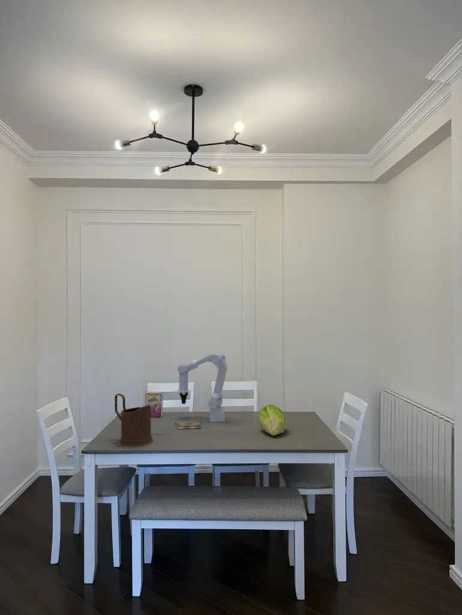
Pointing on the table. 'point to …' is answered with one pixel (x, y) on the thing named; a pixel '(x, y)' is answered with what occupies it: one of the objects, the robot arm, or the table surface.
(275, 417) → the lettuce
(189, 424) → the flip panel
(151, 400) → the candy bar box
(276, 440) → the table surface
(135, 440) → the brown metal pitcher
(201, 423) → the grey long block
